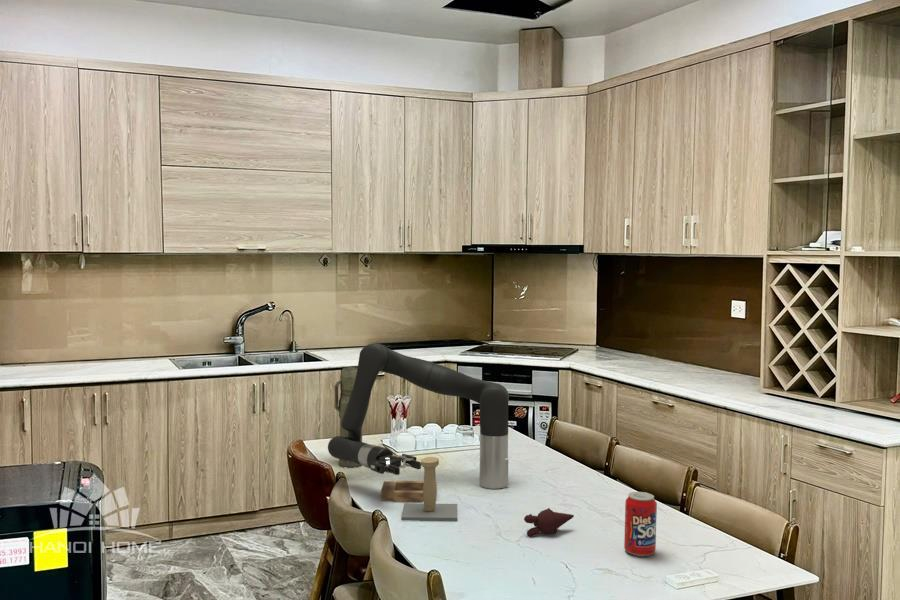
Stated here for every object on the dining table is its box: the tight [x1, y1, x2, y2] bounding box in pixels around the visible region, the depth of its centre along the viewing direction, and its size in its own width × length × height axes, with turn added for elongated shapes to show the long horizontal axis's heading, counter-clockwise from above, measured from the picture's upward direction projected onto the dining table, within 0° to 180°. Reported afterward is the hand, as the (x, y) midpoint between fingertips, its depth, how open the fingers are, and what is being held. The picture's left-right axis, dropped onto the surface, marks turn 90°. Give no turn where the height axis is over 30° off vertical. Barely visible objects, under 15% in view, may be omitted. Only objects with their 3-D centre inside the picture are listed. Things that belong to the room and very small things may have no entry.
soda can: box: [623, 491, 658, 557], centre depth 198 cm, size 8×8×15 cm
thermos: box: [333, 366, 363, 469], centre depth 275 cm, size 9×12×35 cm
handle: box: [420, 456, 440, 512], centre depth 225 cm, size 5×6×15 cm
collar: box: [380, 480, 438, 503], centre depth 242 cm, size 17×12×3 cm
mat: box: [400, 502, 458, 522], centre depth 226 cm, size 16×12×1 cm
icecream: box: [523, 507, 575, 538], centre depth 211 cm, size 7×7×15 cm
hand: (409, 468), depth 231 cm, fingers open, 8 cm apart
